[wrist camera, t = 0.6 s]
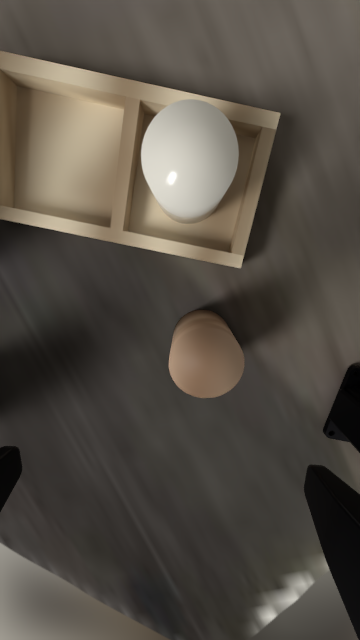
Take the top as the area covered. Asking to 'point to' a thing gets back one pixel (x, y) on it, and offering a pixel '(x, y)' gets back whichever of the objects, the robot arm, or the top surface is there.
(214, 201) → the cream egg
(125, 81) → the egg tray
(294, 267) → the top surface
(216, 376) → the brown egg
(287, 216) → the top surface
